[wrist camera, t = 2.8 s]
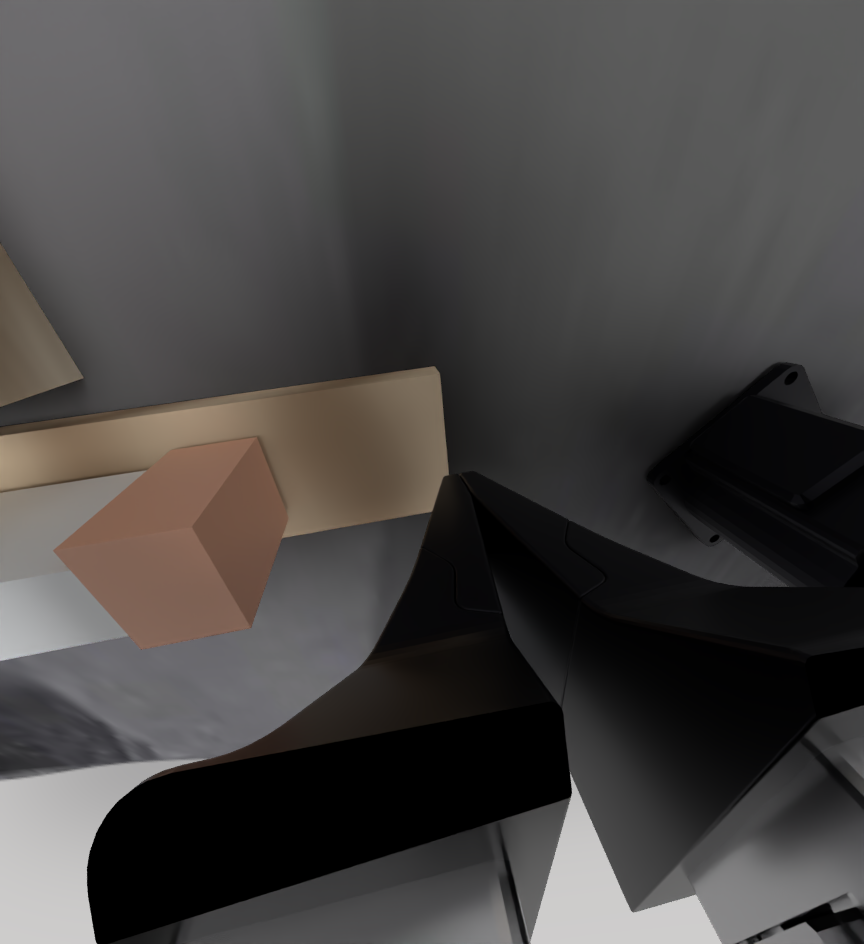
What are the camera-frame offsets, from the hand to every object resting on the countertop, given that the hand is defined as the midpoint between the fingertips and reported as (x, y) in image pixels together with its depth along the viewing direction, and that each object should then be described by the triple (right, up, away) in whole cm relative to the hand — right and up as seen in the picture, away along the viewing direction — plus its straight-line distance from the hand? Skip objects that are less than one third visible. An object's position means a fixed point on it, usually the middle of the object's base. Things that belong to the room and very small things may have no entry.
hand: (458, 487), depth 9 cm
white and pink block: (-12, -1, +1) cm, 12 cm away
